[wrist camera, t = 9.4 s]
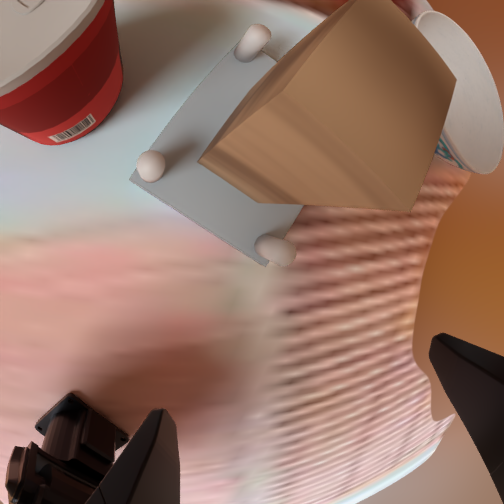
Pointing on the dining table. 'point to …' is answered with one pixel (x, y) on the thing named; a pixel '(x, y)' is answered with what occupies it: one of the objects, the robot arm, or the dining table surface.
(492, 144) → the chinaware
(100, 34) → the canned food
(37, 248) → the dining table surface
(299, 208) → the peg seat
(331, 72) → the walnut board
